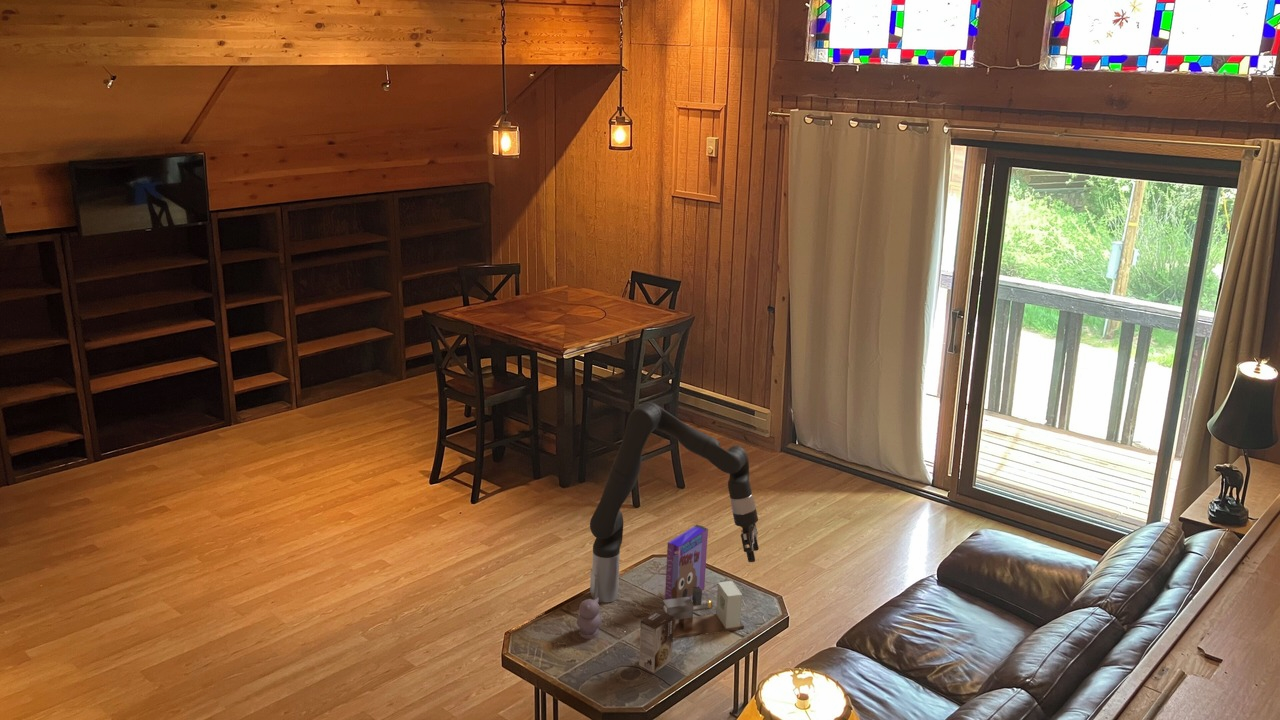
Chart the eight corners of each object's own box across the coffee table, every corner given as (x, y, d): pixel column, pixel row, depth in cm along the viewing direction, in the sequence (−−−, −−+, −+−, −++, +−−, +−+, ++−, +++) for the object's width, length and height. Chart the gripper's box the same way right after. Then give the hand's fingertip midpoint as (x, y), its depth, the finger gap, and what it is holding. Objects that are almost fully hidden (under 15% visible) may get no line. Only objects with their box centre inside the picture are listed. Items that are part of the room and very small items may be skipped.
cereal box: (675, 609, 341) (679, 546, 334) (664, 604, 344) (667, 542, 336) (704, 589, 354) (708, 528, 347) (693, 584, 357) (696, 524, 350)
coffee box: (656, 652, 316) (658, 608, 311) (672, 661, 312) (674, 615, 307) (638, 665, 309) (639, 620, 304) (654, 673, 305) (656, 627, 301)
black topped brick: (666, 616, 324) (667, 595, 322) (663, 611, 327) (664, 590, 325) (712, 610, 329) (713, 589, 326) (708, 605, 332) (710, 584, 329)
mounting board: (666, 639, 323) (668, 611, 320) (658, 624, 332) (659, 596, 328) (743, 628, 331) (745, 600, 328) (733, 614, 339) (735, 587, 336)
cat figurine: (586, 623, 331) (587, 591, 327) (606, 630, 327) (607, 598, 323) (571, 635, 324) (572, 603, 320) (591, 643, 320) (592, 610, 316)
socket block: (725, 628, 329) (727, 596, 325) (715, 614, 337) (718, 582, 334) (739, 626, 330) (742, 594, 327) (729, 612, 339) (731, 580, 335)
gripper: (735, 501, 324) (745, 548, 327) (728, 518, 310) (739, 566, 313) (758, 499, 322) (767, 545, 325) (752, 515, 308) (762, 564, 311)
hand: (753, 555), depth 319 cm, fingers open, 8 cm apart
